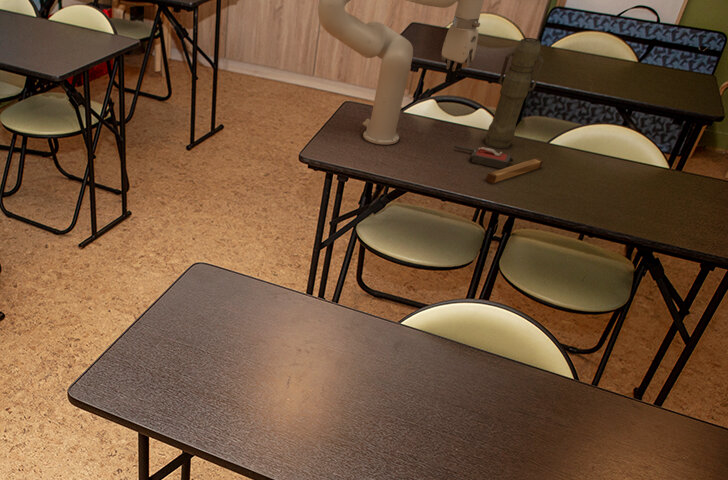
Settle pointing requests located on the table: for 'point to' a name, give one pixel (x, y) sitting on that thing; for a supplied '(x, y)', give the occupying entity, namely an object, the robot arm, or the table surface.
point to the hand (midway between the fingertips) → (449, 81)
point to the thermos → (513, 92)
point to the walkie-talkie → (488, 157)
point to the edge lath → (514, 170)
